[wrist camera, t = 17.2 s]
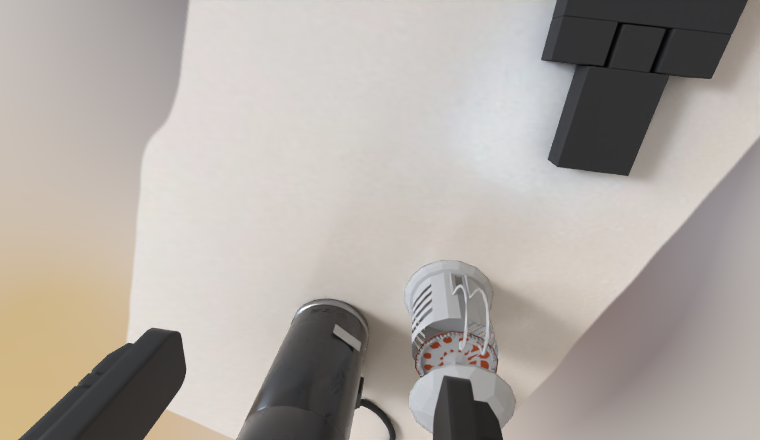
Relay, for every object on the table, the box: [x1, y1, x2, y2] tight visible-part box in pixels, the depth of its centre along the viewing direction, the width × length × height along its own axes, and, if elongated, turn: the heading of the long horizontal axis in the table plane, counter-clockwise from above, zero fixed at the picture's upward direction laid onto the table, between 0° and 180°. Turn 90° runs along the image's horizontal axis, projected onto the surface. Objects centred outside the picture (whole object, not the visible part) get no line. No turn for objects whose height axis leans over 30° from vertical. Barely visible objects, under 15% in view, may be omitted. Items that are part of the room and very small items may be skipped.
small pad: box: [548, 24, 669, 176], centre depth 30 cm, size 11×6×2 cm, turn 174°
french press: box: [405, 261, 516, 433], centre depth 29 cm, size 10×12×25 cm
